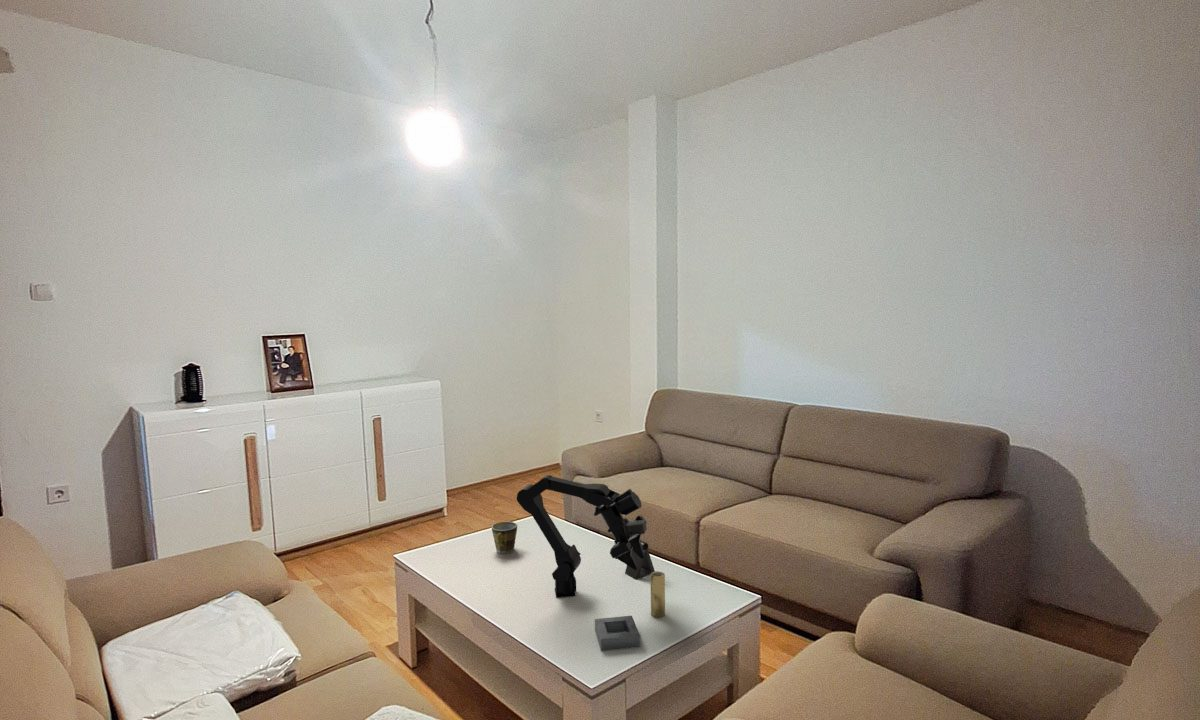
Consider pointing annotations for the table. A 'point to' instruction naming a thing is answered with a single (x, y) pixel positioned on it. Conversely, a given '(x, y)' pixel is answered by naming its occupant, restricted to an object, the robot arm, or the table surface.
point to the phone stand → (641, 564)
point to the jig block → (617, 640)
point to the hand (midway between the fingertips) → (639, 563)
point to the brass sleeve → (657, 594)
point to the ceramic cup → (504, 536)
